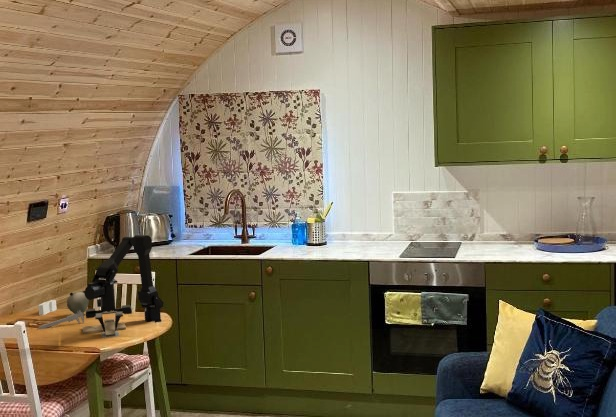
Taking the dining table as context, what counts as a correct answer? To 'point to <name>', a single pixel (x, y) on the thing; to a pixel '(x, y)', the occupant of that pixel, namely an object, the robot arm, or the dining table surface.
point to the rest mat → (110, 336)
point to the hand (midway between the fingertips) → (110, 331)
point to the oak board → (99, 328)
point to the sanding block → (109, 327)
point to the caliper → (69, 319)
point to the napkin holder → (47, 307)
